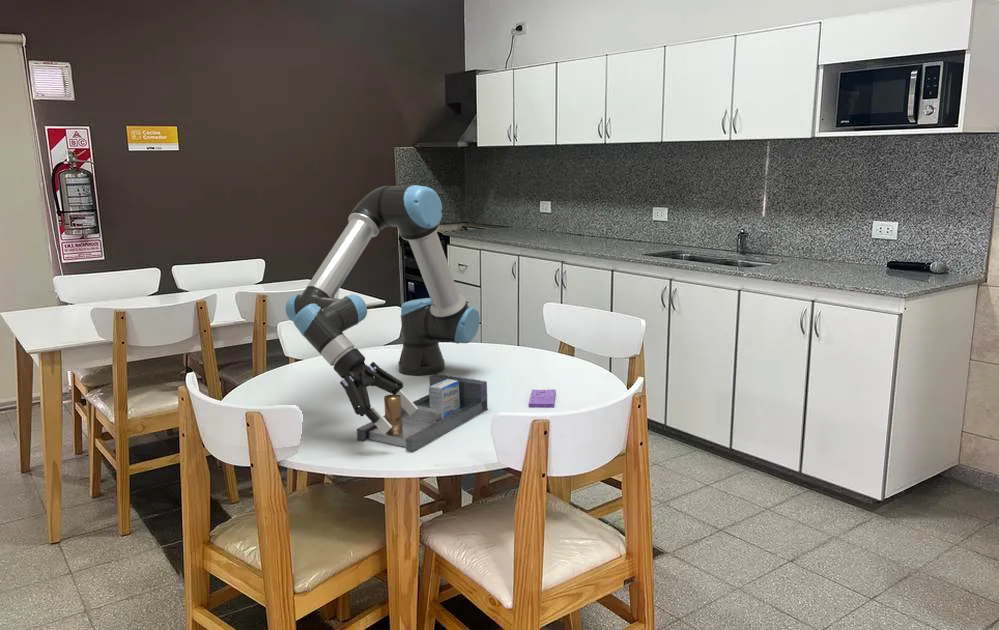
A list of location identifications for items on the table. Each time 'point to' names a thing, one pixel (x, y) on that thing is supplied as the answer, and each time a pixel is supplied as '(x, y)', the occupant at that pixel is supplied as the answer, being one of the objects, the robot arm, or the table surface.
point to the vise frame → (470, 406)
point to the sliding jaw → (403, 421)
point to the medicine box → (445, 397)
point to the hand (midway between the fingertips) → (401, 421)
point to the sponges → (542, 398)
